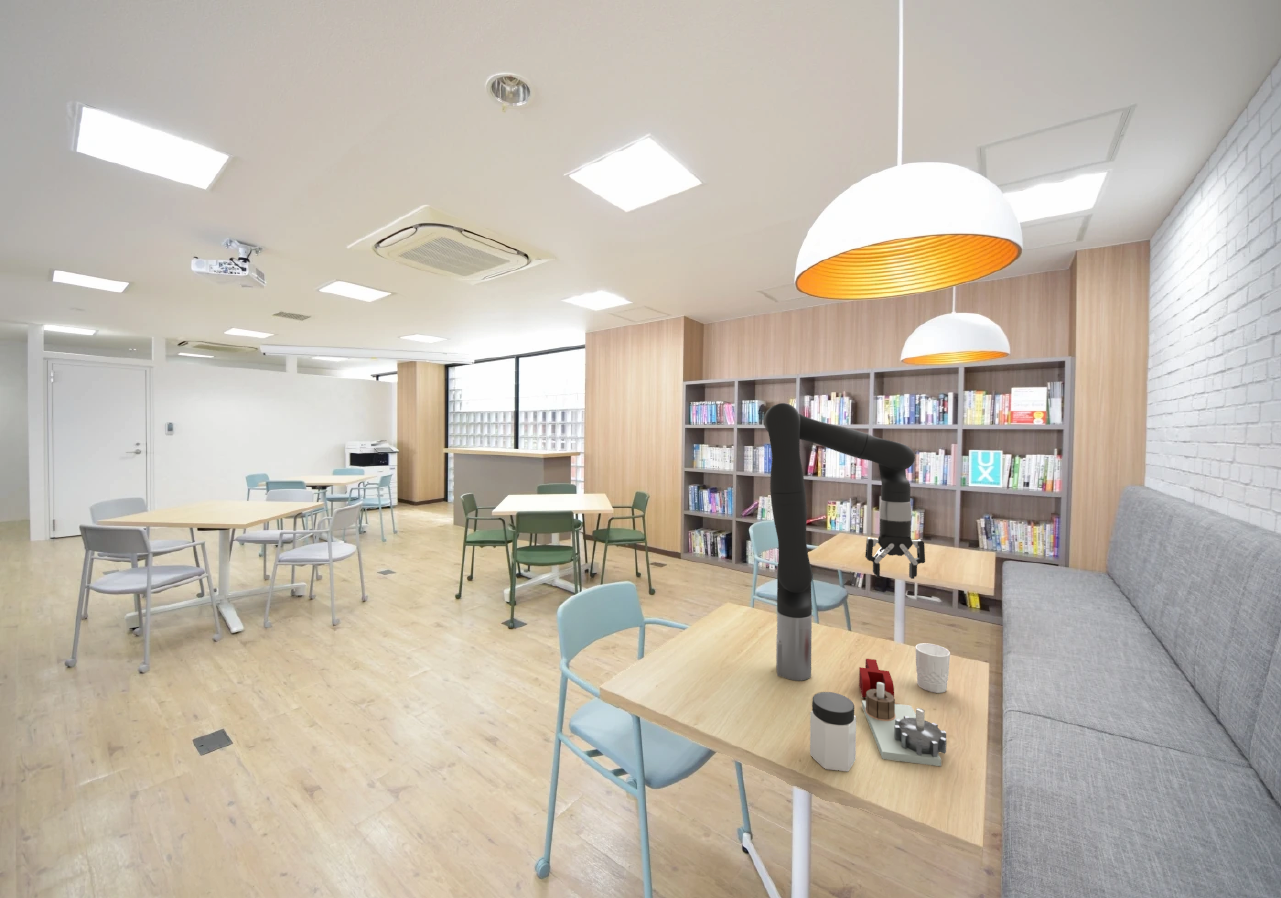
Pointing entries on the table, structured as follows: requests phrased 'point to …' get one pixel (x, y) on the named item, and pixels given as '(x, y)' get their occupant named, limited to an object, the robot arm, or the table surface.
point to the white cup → (932, 667)
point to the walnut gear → (880, 705)
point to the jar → (833, 731)
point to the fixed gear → (920, 734)
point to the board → (885, 735)
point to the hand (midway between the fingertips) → (894, 577)
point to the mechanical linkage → (874, 678)
